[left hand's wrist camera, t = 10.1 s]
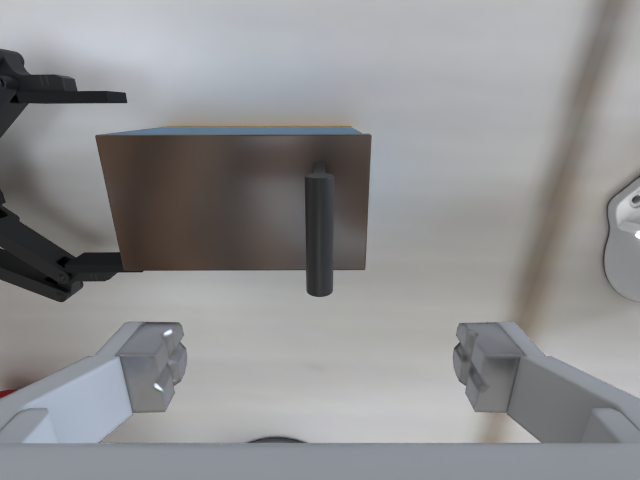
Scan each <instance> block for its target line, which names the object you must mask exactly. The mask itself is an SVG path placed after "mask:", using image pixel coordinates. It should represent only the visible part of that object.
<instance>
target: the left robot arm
mask: <svg viewBox="0 0 640 480" xmlns="http://www.w3.org/2000/svg"><path fill="white" fill-rule="evenodd" d="M634 196H635V198H634V200H633V201H632V199H633V197H634ZM608 219H609V225H610V234H609V238H608V241H607V245H606V249H605V255H604V267H605V272H606V275H607V278H608V280H609V282H610V284H611V285H612V287H613V288H614V289H615V290H616V291H617V292H618V293H619V294H620V295H622V296H624V297H625V298H627V299H630V300H632V301H635V302H639V303H640V177H639V178H638V179H637V180H635V181H634V182H633V183H631V184H630V185H629V186H628V187H626V188H625V189H624V190H623V191H621V192H620V193H619V194H617V195H616V196H615V197H614V198H613V199H612V200H611V201H610V203H609V205H608ZM183 336H184V333H183V328H182V325H181V324H180V323H178V322H127V323H124V324H123V325H122V326H121V327H120V329H119V330H118V331H117V332H116V333H115V334H114V335H113V336H112V337H111V338H110V339H109V340H108V342H107V343H106V344H105V345H104V346H103V347H102V348H101V349H100V350H99V351H98V352H97V353H96V354H95V356H88V357H86V358H84V359H82V360H80V361H77V362H75V363H73V364H71V365H69V366H67V367H65V368H63V369H61V370H59V371H57V372H55V373H52V374H50V375H48V376H46V377H44V378H42V379H40V380H38V381H36V382H34V383H32V384H30V385H28V386H25V387H23V388H21V389H19V390H17V391H15V392H13V393H11V394H9V395H7V396H5V397H3V398H0V480H640V399H639V398H637V397H635V396H633V395H631V394H629V393H627V392H625V391H623V390H621V389H619V388H616V387H614V386H612V385H610V384H608V383H606V382H604V381H602V380H600V379H598V378H596V377H594V376H592V375H589V374H587V373H585V372H583V371H581V370H579V369H577V368H575V367H573V366H571V365H569V364H567V363H565V362H563V361H560V360H558V359H556V358H554V357H552V356H545V355H544V353H543V352H542V351H541V350H540V349H539V348H538V347H537V346H536V345H535V344H534V343H533V342H532V340H531V339H530V338H529V337H528V336H527V335H526V334H525V333H524V332H523V331H522V330H521V329H520V327H519V326H518V325H517V324H516V323H514V322H486V323H459V325H458V328H457V333H456V336H457V338H458V339H459V341H460V343H459V344H458V345H457V346H456V347H455V348H454V353H453V364H454V370H455V373H456V376H457V378H458V380H459V381H460V382H461V383H463V384H464V385H465V386H466V392H465V394H466V395H467V397H468V399H469V401H470V403H471V405H472V407H473V409H474V411H475V412H496V413H507V415H508V416H510V417H511V418H512V419H513V420H515V421H516V422H517V423H518V424H519V425H521V426H522V427H523V428H524V429H526V430H527V431H528V432H529V433H530V434H532V435H533V436H534V437H535V438H536V439H538V440H539V441H540V442H541V443H99V442H100V441H101V440H102V439H104V438H105V437H106V436H107V435H109V434H110V433H111V432H112V431H113V430H115V429H116V428H117V427H118V426H119V425H121V424H122V423H123V422H124V421H126V420H127V419H128V418H129V417H130V416H132V415H133V413H143V412H165V411H166V409H167V407H168V405H169V403H170V401H171V399H172V397H173V395H174V394H175V392H174V386H175V385H176V384H177V383H179V382H180V381H181V380H182V378H183V376H184V374H185V369H186V365H187V352H186V348H185V347H184V346H183V345H182V344H181V343H180V341H181V339H182V338H183Z"/></svg>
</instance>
